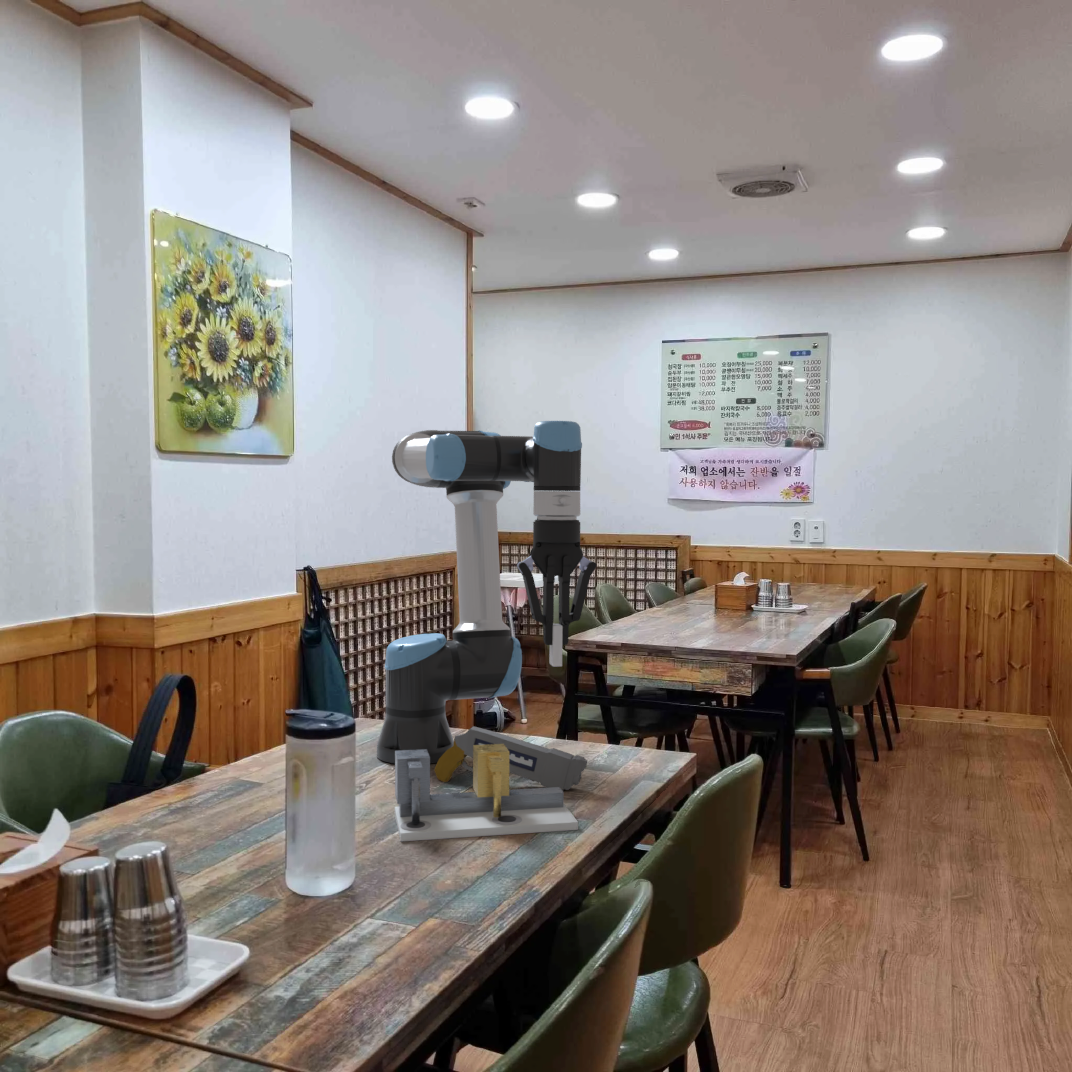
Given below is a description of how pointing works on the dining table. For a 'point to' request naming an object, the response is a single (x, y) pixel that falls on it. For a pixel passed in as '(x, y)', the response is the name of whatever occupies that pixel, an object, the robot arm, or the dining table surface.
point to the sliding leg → (491, 773)
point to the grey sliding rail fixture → (419, 801)
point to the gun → (515, 759)
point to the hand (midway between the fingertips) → (555, 664)
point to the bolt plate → (485, 823)
